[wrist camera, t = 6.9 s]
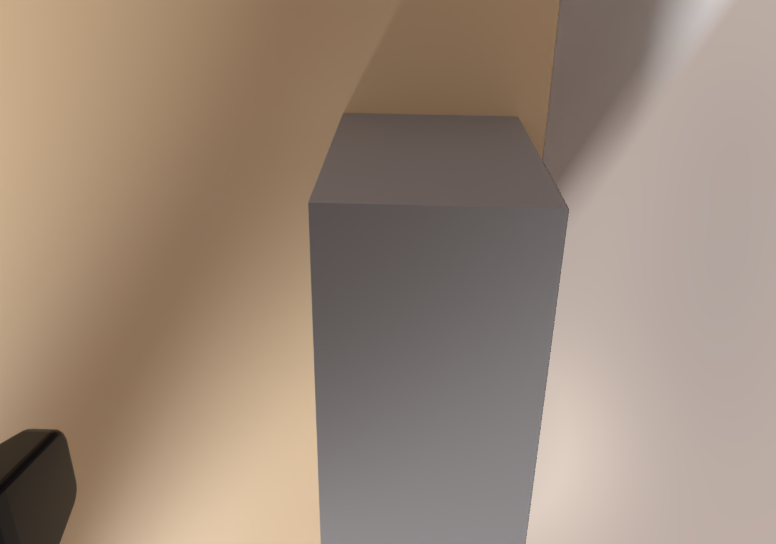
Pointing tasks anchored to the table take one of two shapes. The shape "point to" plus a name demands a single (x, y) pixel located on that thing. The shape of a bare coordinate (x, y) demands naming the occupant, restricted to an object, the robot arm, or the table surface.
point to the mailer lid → (281, 264)
